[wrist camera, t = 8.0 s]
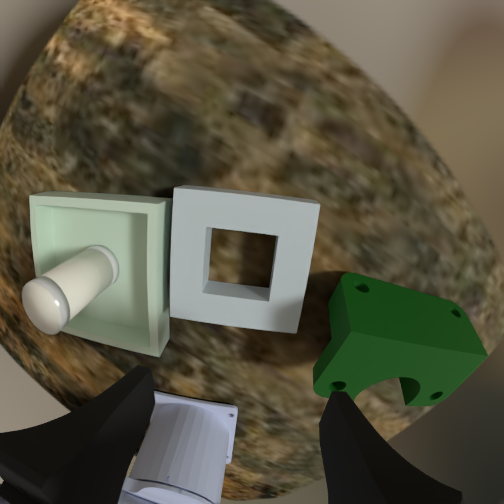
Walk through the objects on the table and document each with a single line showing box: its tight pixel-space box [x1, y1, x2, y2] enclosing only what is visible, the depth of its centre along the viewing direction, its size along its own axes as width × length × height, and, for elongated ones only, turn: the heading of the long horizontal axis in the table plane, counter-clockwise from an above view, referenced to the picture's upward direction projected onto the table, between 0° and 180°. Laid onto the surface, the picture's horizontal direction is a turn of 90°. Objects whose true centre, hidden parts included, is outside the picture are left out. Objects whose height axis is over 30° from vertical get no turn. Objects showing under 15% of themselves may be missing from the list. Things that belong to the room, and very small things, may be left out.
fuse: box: [22, 245, 119, 335], centre depth 16 cm, size 3×3×7 cm
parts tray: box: [30, 191, 172, 357], centre depth 18 cm, size 10×10×2 cm
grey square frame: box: [170, 185, 320, 333], centre depth 18 cm, size 8×8×2 cm
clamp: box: [313, 273, 488, 406], centre depth 17 cm, size 12×6×9 cm, turn 68°
